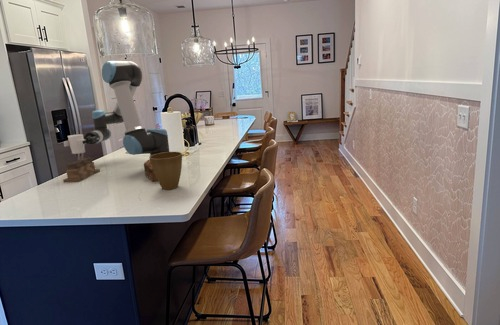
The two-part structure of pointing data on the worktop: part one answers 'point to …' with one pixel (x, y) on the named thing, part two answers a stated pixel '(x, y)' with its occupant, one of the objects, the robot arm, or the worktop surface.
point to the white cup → (76, 143)
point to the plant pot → (167, 168)
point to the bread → (149, 171)
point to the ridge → (80, 170)
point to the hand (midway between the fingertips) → (71, 143)
